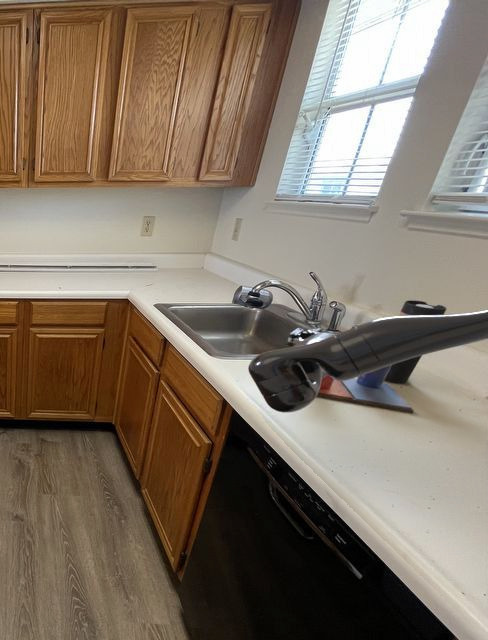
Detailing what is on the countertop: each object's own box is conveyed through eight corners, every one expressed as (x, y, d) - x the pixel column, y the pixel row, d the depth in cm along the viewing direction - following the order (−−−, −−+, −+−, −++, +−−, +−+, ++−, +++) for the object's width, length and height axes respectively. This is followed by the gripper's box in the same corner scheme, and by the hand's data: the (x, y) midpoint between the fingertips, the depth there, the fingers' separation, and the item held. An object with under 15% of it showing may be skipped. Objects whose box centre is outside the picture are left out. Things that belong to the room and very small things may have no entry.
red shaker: (327, 382, 104) (344, 342, 99) (333, 391, 100) (352, 349, 95) (304, 379, 106) (321, 338, 101) (309, 387, 102) (327, 345, 97)
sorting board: (385, 386, 106) (387, 382, 105) (412, 413, 94) (414, 409, 93) (285, 370, 113) (287, 367, 112) (298, 393, 101) (300, 389, 101)
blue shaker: (376, 381, 105) (396, 341, 101) (384, 390, 101) (405, 348, 97) (353, 378, 107) (372, 338, 102) (360, 386, 103) (380, 345, 98)
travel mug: (378, 381, 108) (415, 307, 99) (364, 369, 115) (398, 298, 106) (414, 386, 106) (455, 311, 97) (398, 373, 113) (435, 302, 104)
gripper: (371, 350, 72) (394, 331, 81) (280, 327, 82) (309, 312, 91) (353, 388, 75) (377, 366, 84) (268, 362, 85) (297, 344, 94)
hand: (342, 338), depth 87 cm, fingers open, 8 cm apart
